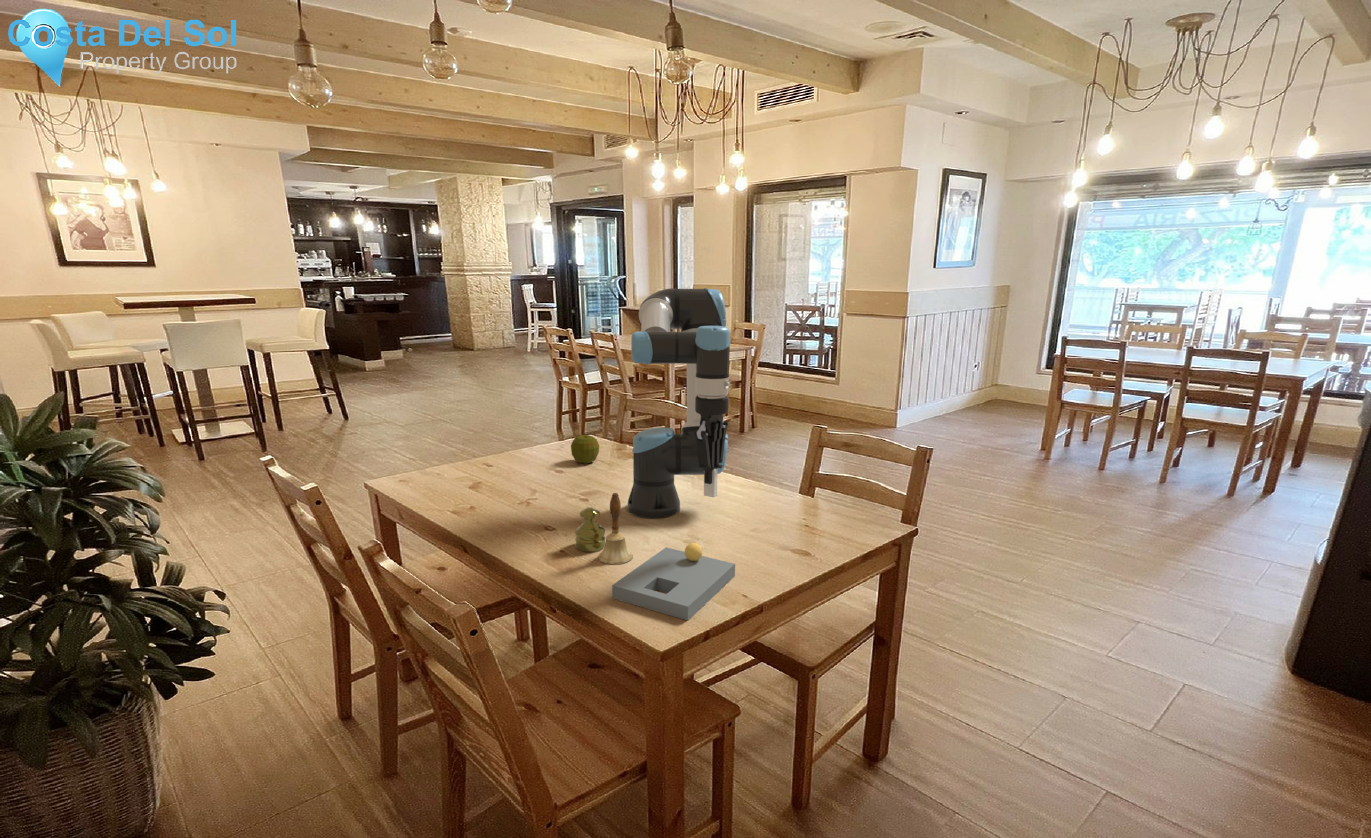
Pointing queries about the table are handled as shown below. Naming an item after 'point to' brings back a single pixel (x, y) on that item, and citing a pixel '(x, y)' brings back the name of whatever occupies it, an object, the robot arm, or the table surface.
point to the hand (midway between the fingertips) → (710, 495)
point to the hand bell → (615, 538)
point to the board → (674, 583)
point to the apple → (585, 448)
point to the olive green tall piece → (590, 532)
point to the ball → (693, 552)
